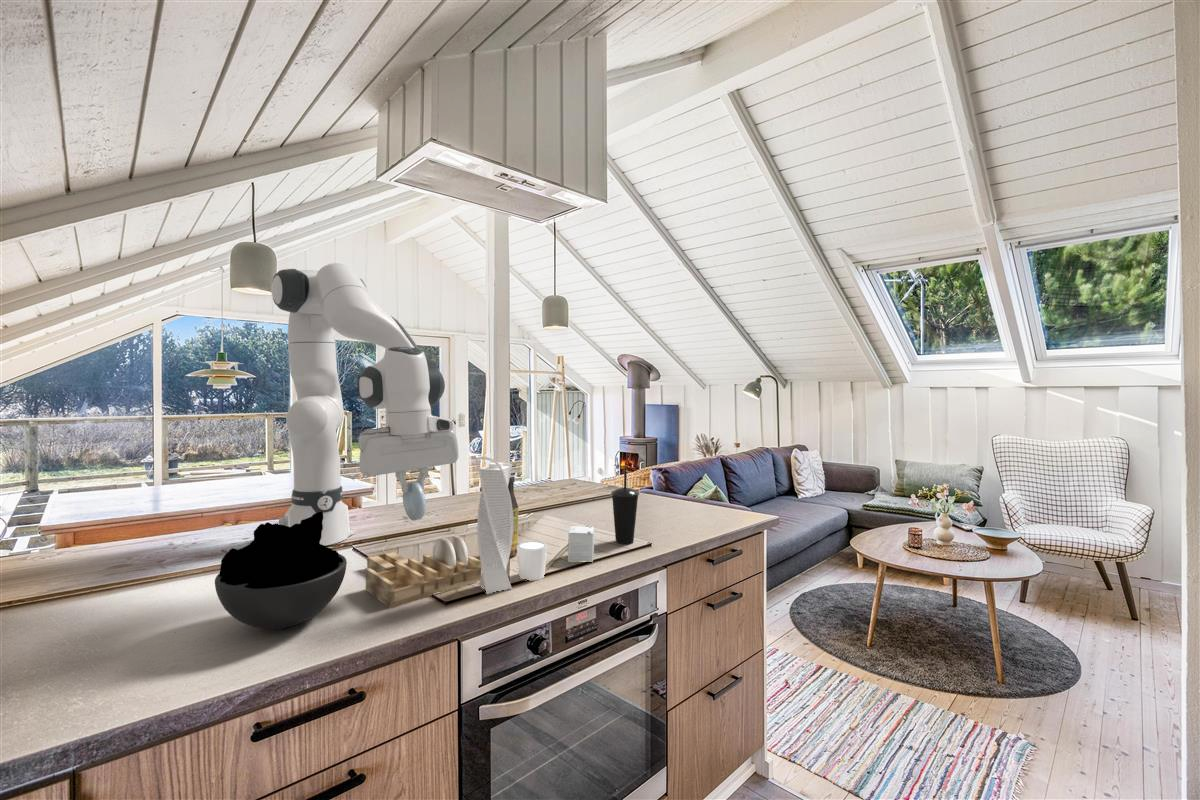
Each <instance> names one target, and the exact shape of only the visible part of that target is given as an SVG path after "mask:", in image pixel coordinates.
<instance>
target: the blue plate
mask: <svg viewBox="0 0 1200 800" xmlns="http://www.w3.org/2000/svg"><path fill="white" fill-rule="evenodd" d="M416 481H417V480H413V481H407V482H408V483H412V487H411V488H412V491H411V492H406V493H404V492H402V503H403V508H404V511H405V513H406V516H407V518H409V520H411V521H418V520H422V519H423V518H424V516H425V513H426V509H427V508H426V504H427V502H426V497H425V496H426V495H425V493H424V489H422V487H421V486H420V484H419V483H418V482H416Z"/></svg>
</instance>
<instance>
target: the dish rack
mask: <svg viewBox="0 0 1200 800" xmlns="http://www.w3.org/2000/svg"><path fill="white" fill-rule="evenodd" d="M407 560H408V565H407V566H406V565H405V564H403V563H401V562H399V561H396V562H395V569H391V570H387V571H383V572H379V573H377V572H375V571H374V570H372V569H371V568H367V567H366V568H365V591H366V592H367V593H369V594H370V595H372V596H373V597H374V598H376V599H377V600H379V601H380V602H381V603H383V604H384V605H385V606H387V607H388V608H389V609H392V608H395V607H400V606H402V605H406V604H409V603H413V602H416V601H418V600H421V599H426V598H429V597H432V594H434V593H437V592H443V591H446V592H448V591H447V590H450V589H453V590H455V589H454V588H456V589H459V588H458V587H460V588H462V587H461V586H463V587H466V586H465V585H467V586H469V585H468V584H470V585H472V583H473V584H475V583H474V582H477V581H480V579H481V575H482V568H481V562H480V559H478V558H476V557H474V556H472V555H470V554H469V552H468V548H467V545H466V543H465V541H464V539H463V538H462V537H461V536H460V535H454V536H450V537H448V538H444V537H443V538H440V539H437V540H436V541H435V542H434V545H433V548H432V556H431V555H429V554H427V553H425V554H422V561H419V560H416V559H414V558H413V557H408V558H407ZM477 583H478V582H477ZM450 591H451V590H450ZM443 593H444V592H443Z"/></svg>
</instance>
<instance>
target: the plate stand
mask: <svg viewBox="0 0 1200 800" xmlns="http://www.w3.org/2000/svg"><path fill="white" fill-rule="evenodd" d="M366 559H367V560H366V563H367V565H366V566H367V567H366V568H371V569H372V570H374V571H375V572H377V573H379V572H383V571H387V570H391V569H395V562H396V561H399V562H401V563H403V564H405V565H406V566H407V565H408V558H405V557H403V556H401V555H400V554H398V553H396V552H395V551H387V552H383V553H377V554H373V555H369V556H366Z"/></svg>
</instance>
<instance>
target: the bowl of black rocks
mask: <svg viewBox="0 0 1200 800" xmlns="http://www.w3.org/2000/svg"><path fill="white" fill-rule="evenodd" d="M323 519H324V518H323V512H322V511H321V512H318V513H315V514H313V515H312V517H309V518H307V519H304V520H301V523H300V524H294V525H293V526H291V527H289V526H285V525H279V523H270V522H268V521H267V522H265V523H260V524H259V525H258V526H257V527H256V528H255V530H254V531H253V540H252V541H251V542H249V544H247V545H246V546H242V547H241V548H238V549H236V548H234V547H233V548H230V549H229V550H228V551H227V552H226V554H224V556H223V557H222V559H221V561H220V567H219V568H220V570H219V572H218V574H217V575H216V576H215V578H214V587H215V593H216V595H217V598H218V601H219V602H220V604H221V605H222V607H223V608H224V610H225V611H226V612H227V613H228V614H229V615H231V617H233V618H234V619H235V620H236V621H238V622H240V623H242V624H244V625H246V626H249V627H252V628H256V629H261V630H262V629H263V630H280V629H285V628H289V627H293V626H296V625H300V624H301V623H304V622H306V621H308V620H310V619H312V618H313V617H314V616H316V615H317V614H318V613H320V612H321V611H322V610H324V608H326V607H327V606H328V604H330V602H331V601H332V600H334V599H333V598H334V597H335V596H336V595H337V594H338V592H339V590H340V588H341V586H342V584H343V581H344V578H345V574H346V572H347V571H346V570H347V563H348V562H347V558H346V557H345V556H344V555H342V554H340V553H339V552H338V551H337V550H334V549H332V548H331V547H326V546H327V545H325V546H324V545H321V544H320V540H321V535H322V530H323V524H322V521H323Z"/></svg>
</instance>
